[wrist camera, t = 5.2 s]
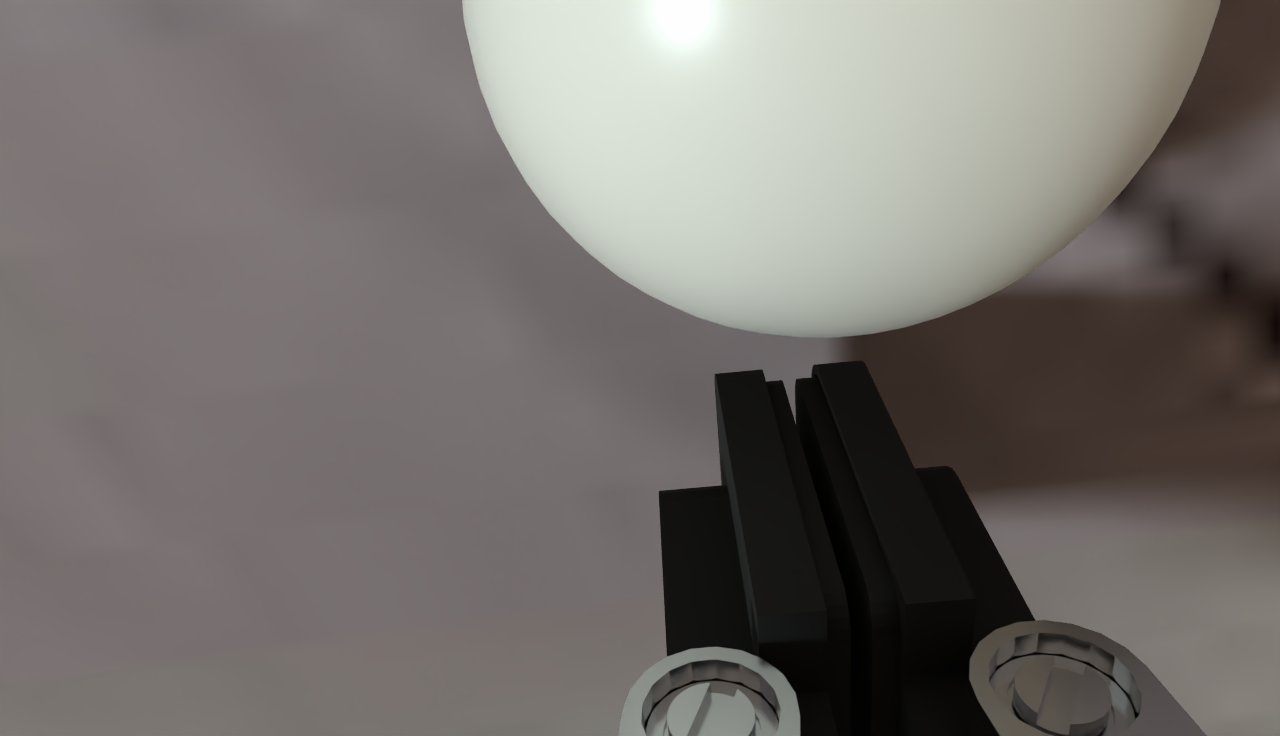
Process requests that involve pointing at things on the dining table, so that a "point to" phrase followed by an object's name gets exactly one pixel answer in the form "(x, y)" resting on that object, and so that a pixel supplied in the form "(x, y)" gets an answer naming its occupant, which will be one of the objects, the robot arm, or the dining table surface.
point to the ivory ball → (831, 141)
